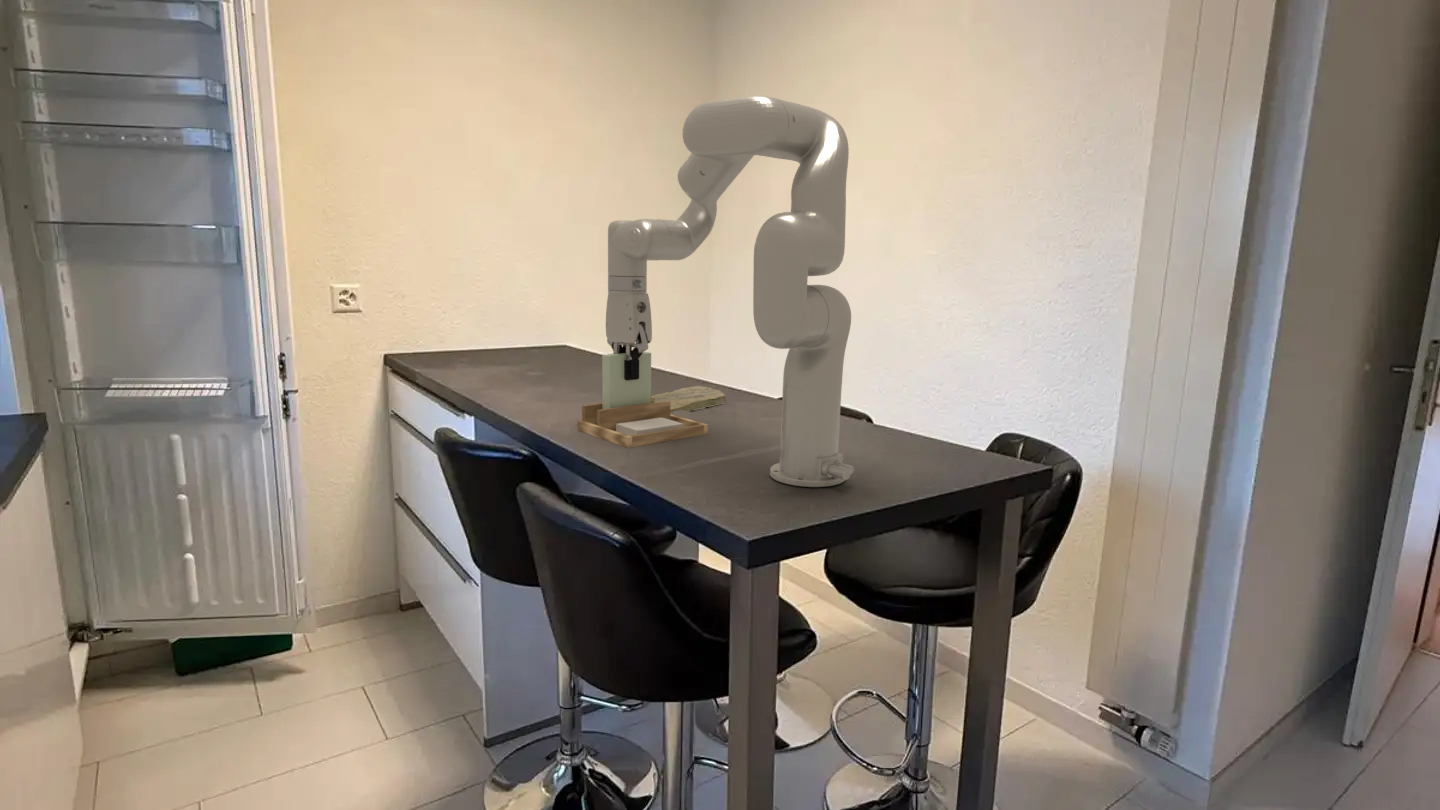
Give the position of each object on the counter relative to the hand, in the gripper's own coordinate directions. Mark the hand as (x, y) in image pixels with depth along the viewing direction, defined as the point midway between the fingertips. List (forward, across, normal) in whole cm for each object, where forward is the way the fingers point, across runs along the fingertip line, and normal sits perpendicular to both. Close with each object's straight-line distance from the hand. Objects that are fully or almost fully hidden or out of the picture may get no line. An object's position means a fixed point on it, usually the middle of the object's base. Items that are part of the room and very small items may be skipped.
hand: (627, 377), depth 158 cm
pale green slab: (+11, 0, 0) cm, 11 cm away
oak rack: (+11, -5, 0) cm, 12 cm away
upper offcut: (+10, -8, 0) cm, 13 cm away
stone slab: (+12, +15, -26) cm, 32 cm away
